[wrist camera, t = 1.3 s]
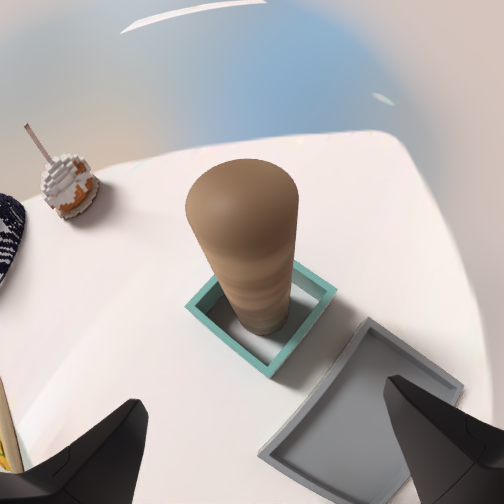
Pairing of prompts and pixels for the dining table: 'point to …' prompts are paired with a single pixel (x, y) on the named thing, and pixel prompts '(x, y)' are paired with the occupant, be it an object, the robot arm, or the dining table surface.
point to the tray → (355, 421)
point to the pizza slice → (8, 439)
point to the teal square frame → (322, 293)
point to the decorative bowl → (3, 210)
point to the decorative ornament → (66, 182)
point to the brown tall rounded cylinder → (248, 237)
